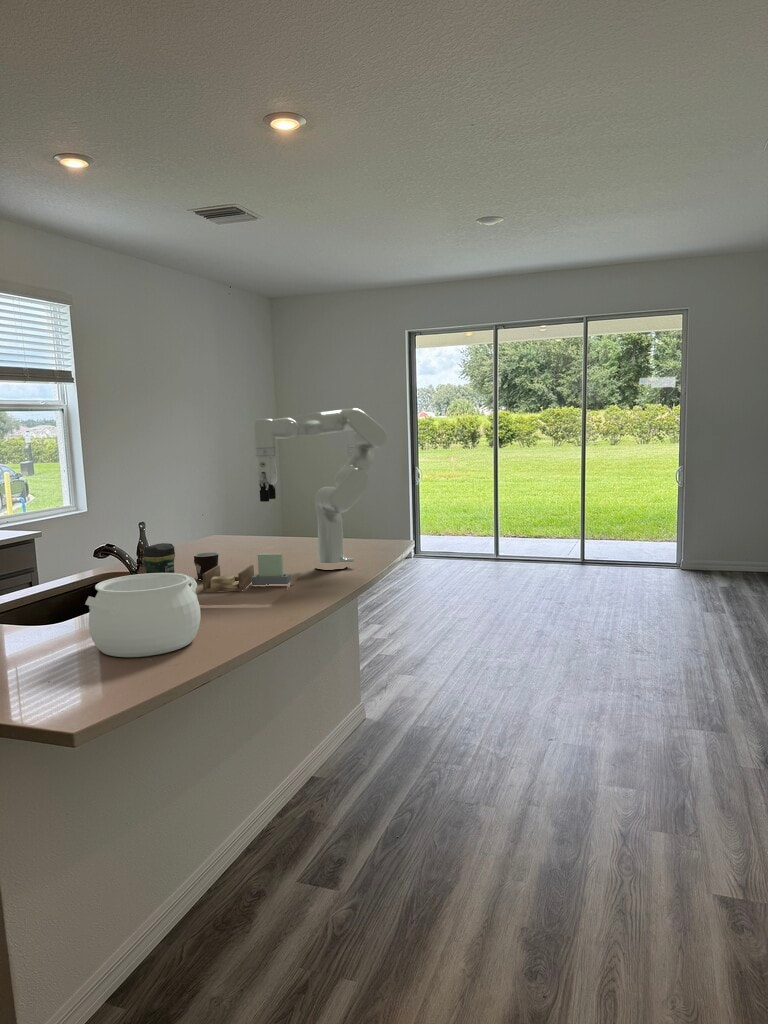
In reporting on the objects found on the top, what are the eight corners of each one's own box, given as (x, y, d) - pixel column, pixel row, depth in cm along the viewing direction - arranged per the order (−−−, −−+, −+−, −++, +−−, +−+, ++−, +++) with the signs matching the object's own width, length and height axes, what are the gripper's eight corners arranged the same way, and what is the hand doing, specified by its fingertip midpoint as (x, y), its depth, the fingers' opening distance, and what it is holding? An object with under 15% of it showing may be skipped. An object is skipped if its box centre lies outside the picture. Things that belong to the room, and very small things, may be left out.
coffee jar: (162, 606, 216) (158, 546, 214) (141, 604, 219) (138, 545, 217) (182, 598, 225) (178, 542, 223) (162, 597, 228) (158, 541, 226)
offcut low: (241, 587, 235) (241, 582, 234) (237, 590, 230) (237, 584, 230) (215, 588, 235) (214, 582, 235) (210, 591, 231) (210, 585, 231)
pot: (168, 624, 195) (164, 566, 193) (228, 639, 178) (224, 577, 176) (64, 650, 172) (59, 586, 171) (121, 671, 156) (116, 600, 154)
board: (283, 585, 238) (282, 553, 236) (282, 586, 236) (281, 554, 234) (260, 585, 238) (259, 553, 237) (259, 586, 236) (257, 554, 235)
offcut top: (234, 581, 235) (234, 576, 235) (232, 584, 230) (231, 578, 230) (214, 582, 235) (213, 576, 235) (210, 585, 230) (210, 579, 230)
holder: (291, 586, 240) (290, 573, 239) (287, 590, 234) (286, 577, 233) (256, 586, 241) (256, 573, 240) (252, 590, 235) (251, 577, 234)
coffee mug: (221, 582, 249) (220, 555, 248) (196, 585, 245) (195, 557, 244) (216, 577, 259) (215, 550, 258) (193, 579, 256) (191, 552, 255)
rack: (254, 585, 243) (253, 565, 243) (242, 594, 228) (241, 573, 228) (218, 585, 244) (217, 565, 244) (203, 595, 230) (202, 574, 229)
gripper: (270, 453, 244) (272, 502, 246) (281, 452, 261) (283, 497, 263) (249, 454, 244) (251, 502, 246) (261, 452, 261) (264, 498, 263)
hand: (268, 500), depth 254 cm, fingers open, 9 cm apart
